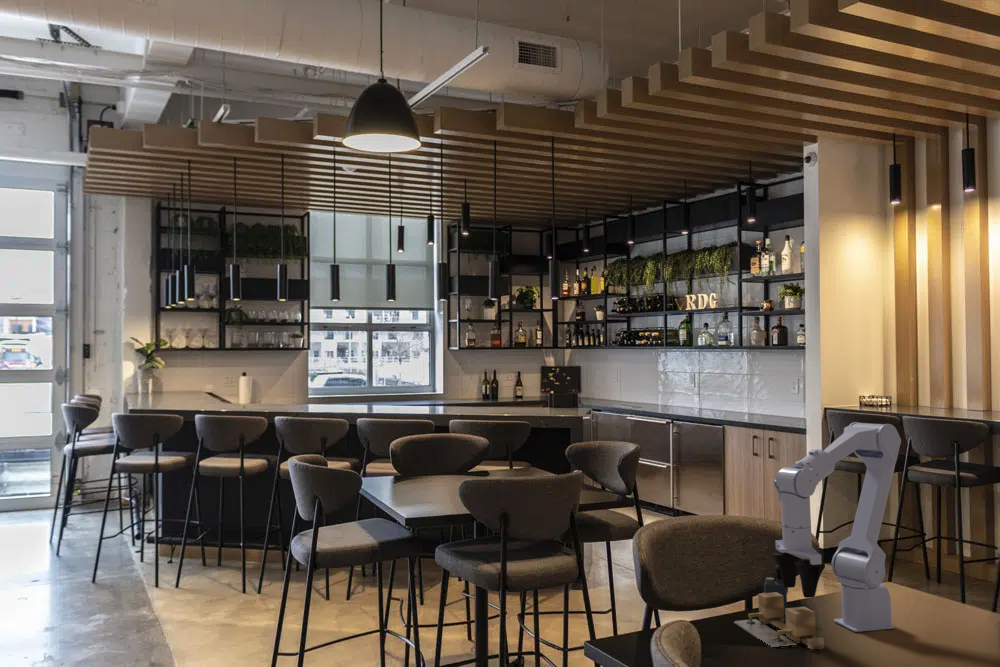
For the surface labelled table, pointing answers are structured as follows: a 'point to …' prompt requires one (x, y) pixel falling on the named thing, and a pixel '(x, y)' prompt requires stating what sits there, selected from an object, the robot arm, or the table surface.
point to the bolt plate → (764, 633)
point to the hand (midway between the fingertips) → (799, 591)
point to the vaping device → (776, 586)
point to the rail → (810, 642)
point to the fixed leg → (769, 607)
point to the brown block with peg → (799, 624)
